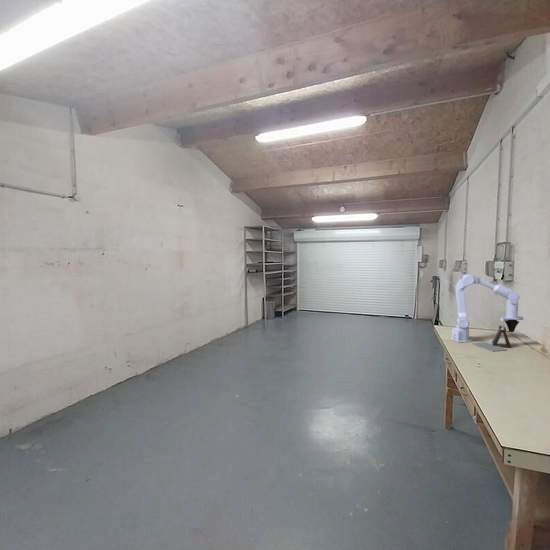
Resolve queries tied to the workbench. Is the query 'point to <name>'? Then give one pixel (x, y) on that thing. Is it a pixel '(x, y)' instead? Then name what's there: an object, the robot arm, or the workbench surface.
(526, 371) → the workbench surface
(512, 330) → the robot arm
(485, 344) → the mat
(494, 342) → the phone stand
